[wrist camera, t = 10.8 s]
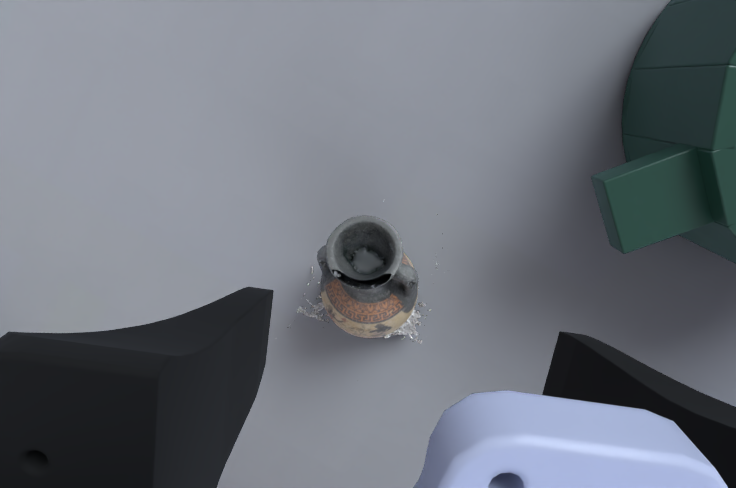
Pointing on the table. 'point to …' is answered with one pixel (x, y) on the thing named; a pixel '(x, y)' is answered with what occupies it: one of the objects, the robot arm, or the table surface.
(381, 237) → the vase
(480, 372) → the table surface
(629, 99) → the pot
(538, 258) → the table surface
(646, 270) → the table surface
